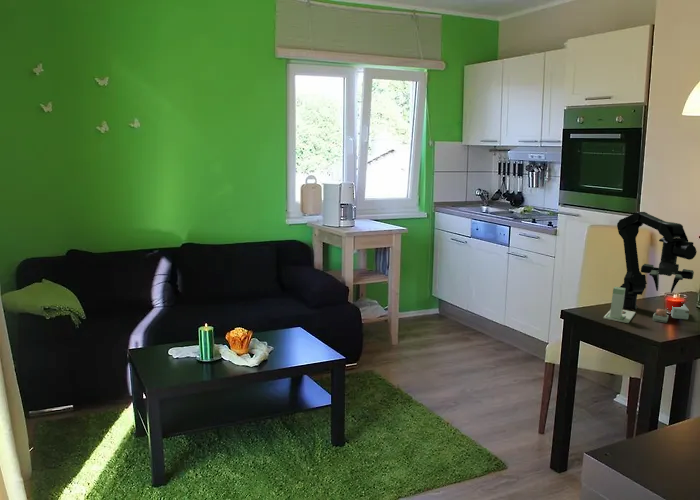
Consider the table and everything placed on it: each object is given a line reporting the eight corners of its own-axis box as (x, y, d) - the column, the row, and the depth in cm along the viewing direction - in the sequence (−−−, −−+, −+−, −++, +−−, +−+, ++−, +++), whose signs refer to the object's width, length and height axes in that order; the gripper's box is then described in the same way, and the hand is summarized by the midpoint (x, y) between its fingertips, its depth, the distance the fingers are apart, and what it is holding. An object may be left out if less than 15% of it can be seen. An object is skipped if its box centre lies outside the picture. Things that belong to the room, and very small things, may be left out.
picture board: (611, 309, 267) (611, 307, 267) (635, 313, 262) (635, 311, 262) (603, 318, 252) (603, 316, 252) (628, 323, 247) (628, 321, 247)
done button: (656, 312, 255) (657, 308, 255) (666, 314, 253) (667, 309, 253) (655, 314, 252) (656, 310, 252) (665, 316, 250) (665, 311, 250)
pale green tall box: (611, 314, 256) (615, 286, 254) (621, 316, 254) (625, 288, 252) (609, 316, 253) (613, 288, 251) (620, 318, 251) (623, 290, 248)
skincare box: (667, 310, 268) (671, 318, 257) (668, 300, 268) (673, 308, 256) (682, 312, 267) (688, 320, 255) (684, 302, 266) (689, 310, 254)
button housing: (654, 317, 257) (654, 312, 256) (667, 320, 254) (668, 314, 254) (652, 320, 253) (653, 315, 252) (666, 323, 250) (667, 317, 249)
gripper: (641, 254, 246) (636, 291, 249) (694, 261, 236) (688, 300, 239) (645, 250, 256) (640, 286, 259) (696, 256, 246) (690, 294, 249)
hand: (664, 292), depth 251 cm, fingers open, 5 cm apart
